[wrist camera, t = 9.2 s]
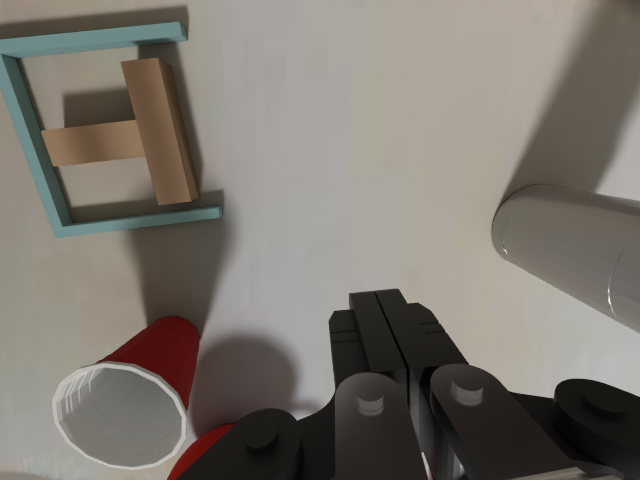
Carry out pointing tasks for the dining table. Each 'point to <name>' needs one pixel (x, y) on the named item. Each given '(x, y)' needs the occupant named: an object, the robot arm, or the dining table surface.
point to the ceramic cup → (197, 450)
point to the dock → (7, 77)
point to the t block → (138, 134)
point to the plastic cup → (132, 398)
